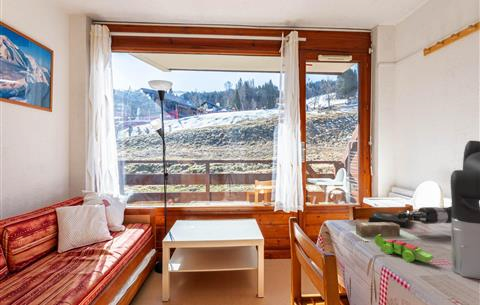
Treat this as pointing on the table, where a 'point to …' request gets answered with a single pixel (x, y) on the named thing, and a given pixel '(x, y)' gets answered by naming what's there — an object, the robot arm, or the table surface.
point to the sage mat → (402, 236)
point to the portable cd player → (388, 219)
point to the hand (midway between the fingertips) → (396, 216)
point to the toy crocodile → (402, 249)
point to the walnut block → (378, 229)
